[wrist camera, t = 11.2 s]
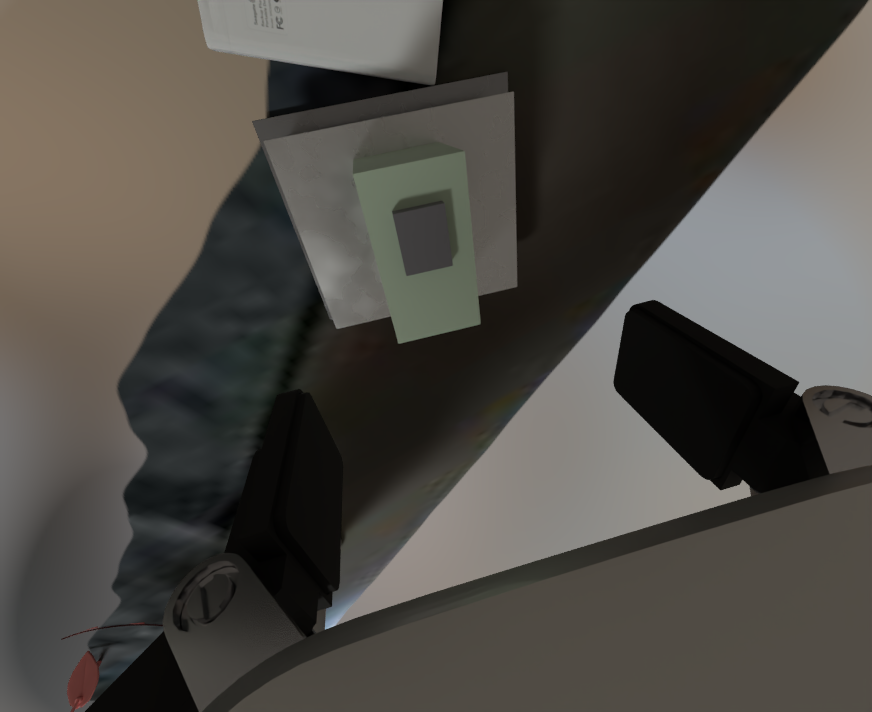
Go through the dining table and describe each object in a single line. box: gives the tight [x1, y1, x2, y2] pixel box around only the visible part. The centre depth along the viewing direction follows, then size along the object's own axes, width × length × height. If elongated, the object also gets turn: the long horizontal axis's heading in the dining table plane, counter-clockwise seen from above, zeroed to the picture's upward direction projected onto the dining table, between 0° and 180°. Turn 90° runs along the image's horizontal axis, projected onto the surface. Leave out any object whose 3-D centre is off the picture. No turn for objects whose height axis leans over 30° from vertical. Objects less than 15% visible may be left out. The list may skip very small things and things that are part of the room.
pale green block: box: [353, 142, 481, 344], centre depth 20 cm, size 9×5×7 cm, turn 9°
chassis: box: [252, 72, 517, 329], centre depth 24 cm, size 14×16×4 cm
